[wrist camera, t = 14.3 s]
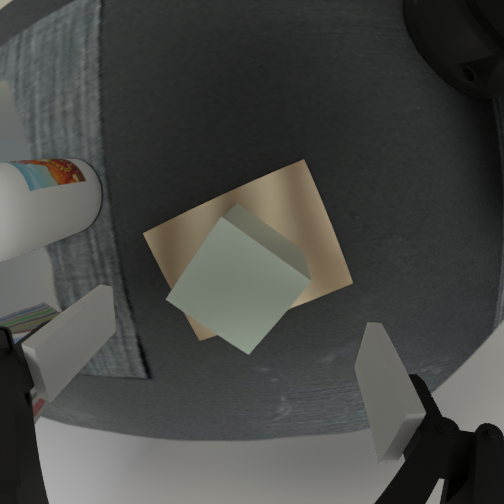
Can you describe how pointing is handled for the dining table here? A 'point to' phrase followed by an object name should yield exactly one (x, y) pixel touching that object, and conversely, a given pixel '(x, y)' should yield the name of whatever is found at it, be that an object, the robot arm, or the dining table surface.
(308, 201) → the post base
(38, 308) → the vase
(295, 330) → the dining table surface
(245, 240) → the pale green block
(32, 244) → the milk bottle
